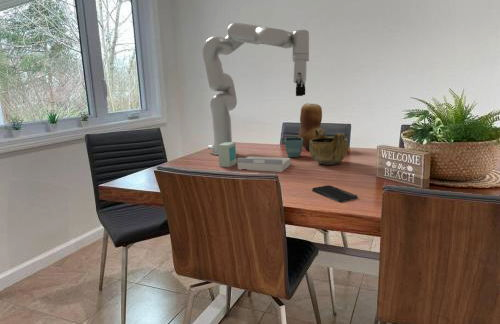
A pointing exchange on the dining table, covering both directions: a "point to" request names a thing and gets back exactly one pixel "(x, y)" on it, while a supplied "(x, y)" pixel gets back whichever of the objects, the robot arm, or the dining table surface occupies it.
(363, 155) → the dining table surface
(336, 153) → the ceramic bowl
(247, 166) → the flat grey box
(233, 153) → the carton
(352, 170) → the dining table surface
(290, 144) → the flower pot
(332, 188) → the phone
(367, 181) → the dining table surface
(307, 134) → the butternut squash
